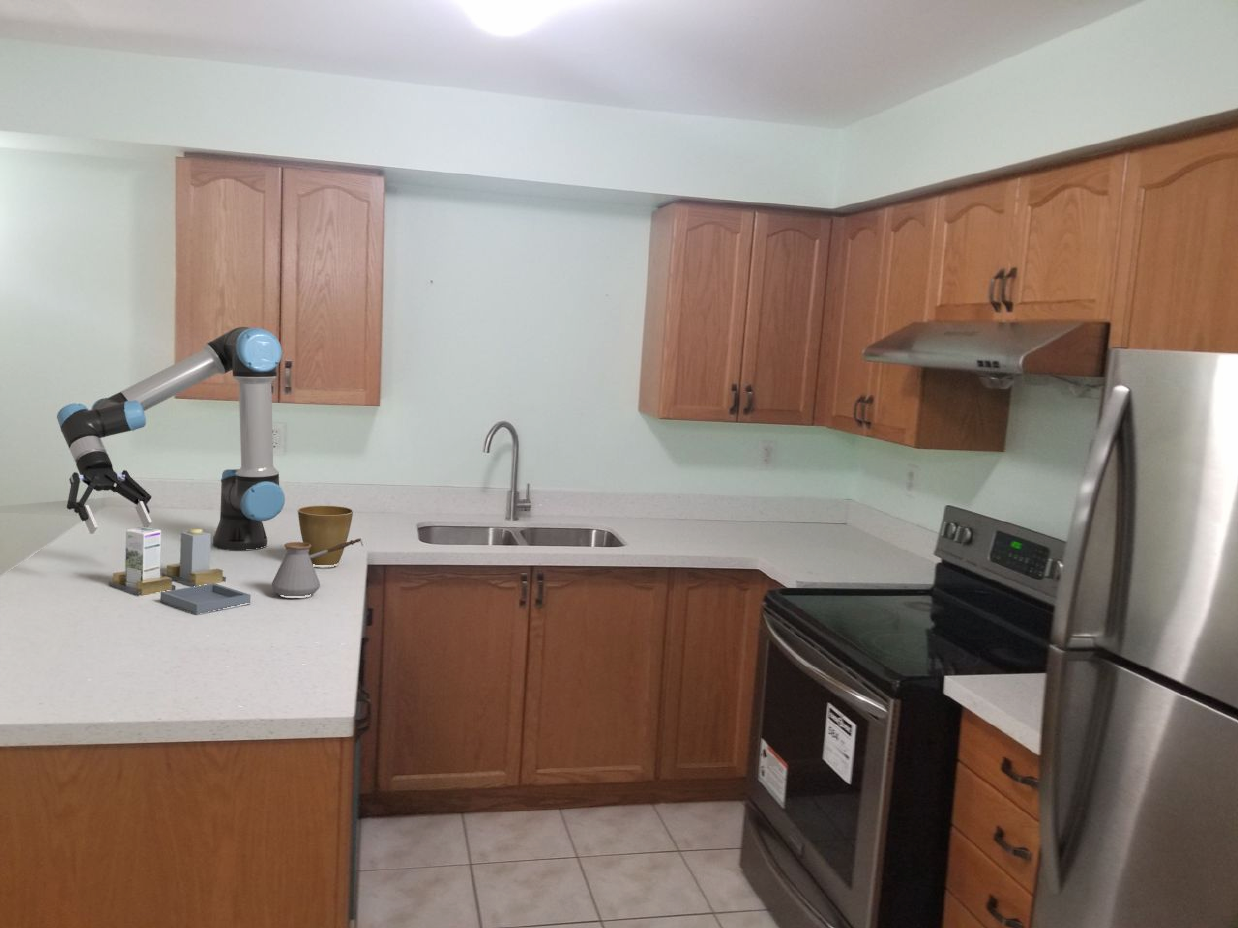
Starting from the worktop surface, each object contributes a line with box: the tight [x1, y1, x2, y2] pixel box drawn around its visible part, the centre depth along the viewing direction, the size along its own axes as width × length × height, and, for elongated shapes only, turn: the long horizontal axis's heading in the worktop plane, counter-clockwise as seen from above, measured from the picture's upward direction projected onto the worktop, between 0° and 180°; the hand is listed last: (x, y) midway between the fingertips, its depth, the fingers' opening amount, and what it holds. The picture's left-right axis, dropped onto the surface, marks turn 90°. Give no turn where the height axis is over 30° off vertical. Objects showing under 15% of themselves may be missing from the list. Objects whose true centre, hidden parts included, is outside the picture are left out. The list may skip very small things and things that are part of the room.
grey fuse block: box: [179, 527, 212, 580], centre depth 252 cm, size 5×5×13 cm
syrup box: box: [124, 526, 162, 589], centre depth 240 cm, size 6×6×14 cm
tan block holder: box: [108, 571, 177, 597], centre depth 241 cm, size 10×12×3 cm
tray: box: [159, 583, 251, 615], centre depth 232 cm, size 14×14×2 cm
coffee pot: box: [271, 537, 364, 596], centre depth 246 cm, size 21×12×15 cm, turn 103°
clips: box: [162, 562, 227, 587], centre depth 253 cm, size 10×12×3 cm
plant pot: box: [297, 505, 354, 565], centre depth 278 cm, size 15×15×16 cm
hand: (121, 528), depth 242 cm, fingers open, 13 cm apart
